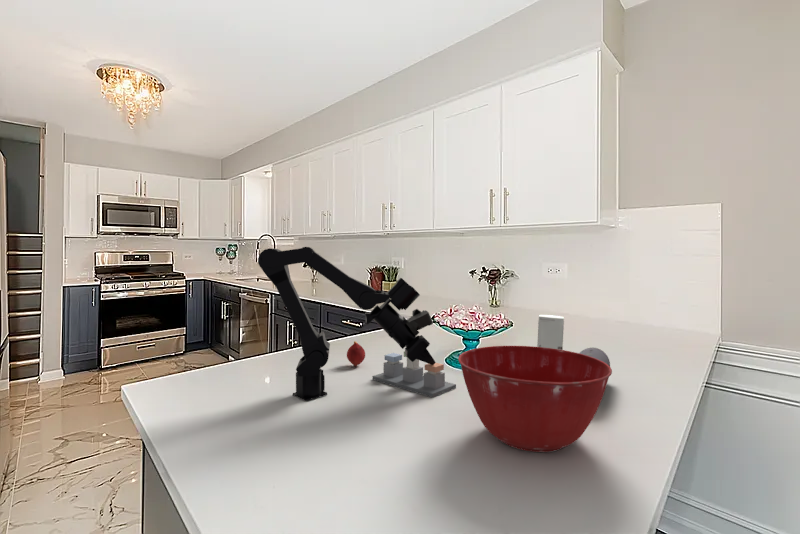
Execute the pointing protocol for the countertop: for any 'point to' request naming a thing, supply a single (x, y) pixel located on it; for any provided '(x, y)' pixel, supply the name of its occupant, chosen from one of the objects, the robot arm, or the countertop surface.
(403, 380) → the key console
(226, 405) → the countertop surface
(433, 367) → the key
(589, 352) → the bluetooth speaker
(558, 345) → the skincare box
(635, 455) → the countertop surface
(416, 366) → the key
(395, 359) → the key
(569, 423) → the mixing bowl
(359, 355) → the onion
